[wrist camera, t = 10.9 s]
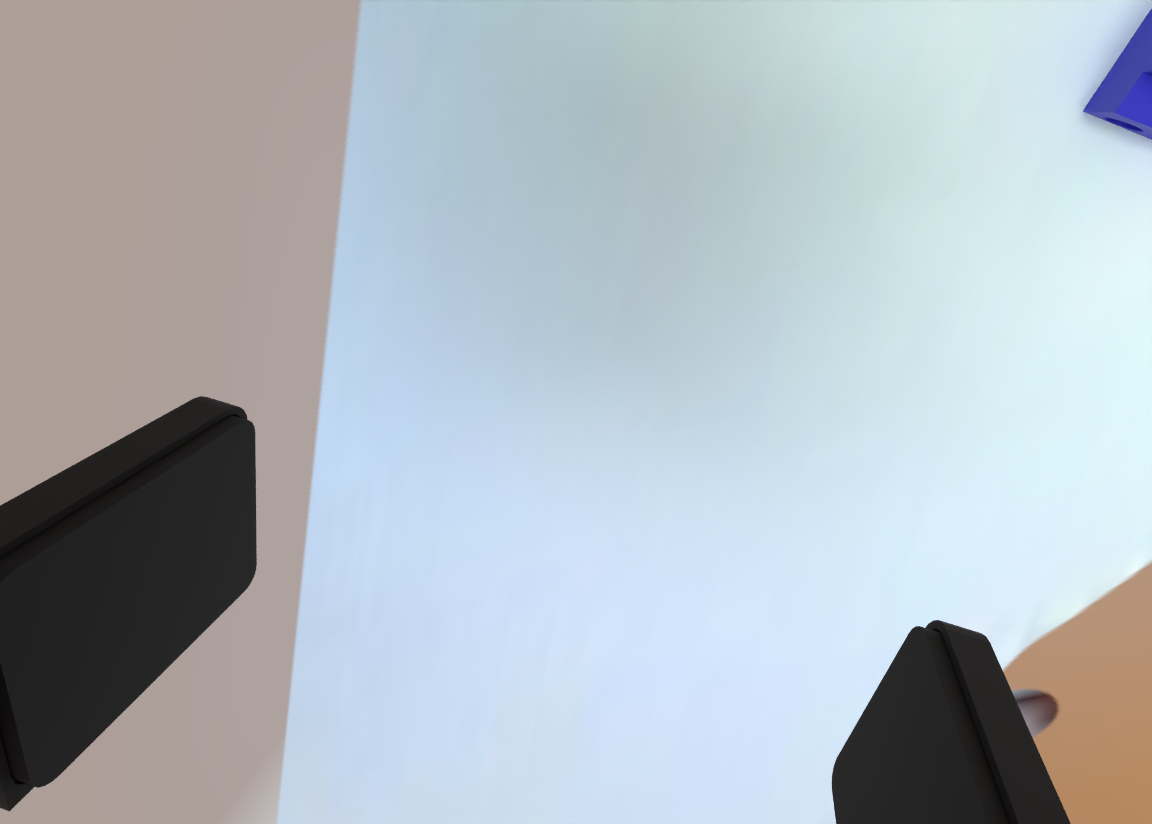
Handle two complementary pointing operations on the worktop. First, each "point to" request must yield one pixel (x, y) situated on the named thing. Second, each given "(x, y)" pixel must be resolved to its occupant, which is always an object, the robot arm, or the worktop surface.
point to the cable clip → (1128, 86)
